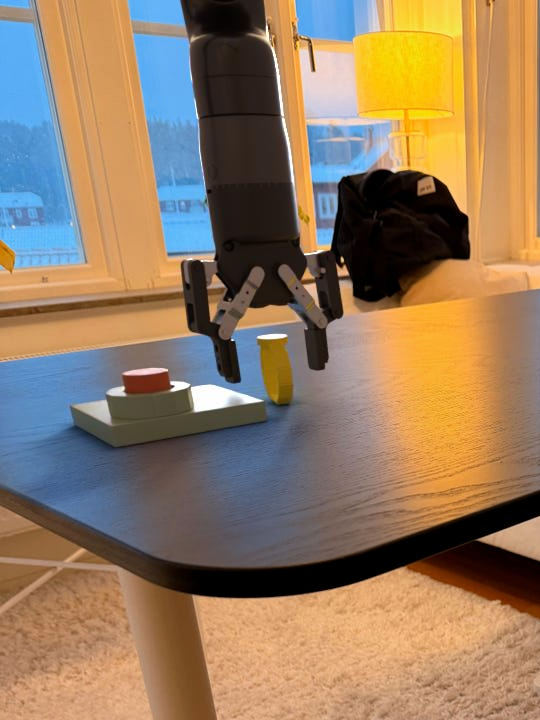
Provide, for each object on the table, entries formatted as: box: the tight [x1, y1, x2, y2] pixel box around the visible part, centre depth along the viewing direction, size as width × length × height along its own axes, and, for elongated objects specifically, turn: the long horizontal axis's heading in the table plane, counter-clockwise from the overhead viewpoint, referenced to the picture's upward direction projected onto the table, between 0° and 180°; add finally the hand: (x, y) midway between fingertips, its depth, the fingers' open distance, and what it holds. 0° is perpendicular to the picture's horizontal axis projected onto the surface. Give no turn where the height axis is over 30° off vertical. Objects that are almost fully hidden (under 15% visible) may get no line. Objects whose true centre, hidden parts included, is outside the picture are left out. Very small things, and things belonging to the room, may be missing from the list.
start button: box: [121, 367, 172, 394], centre depth 72 cm, size 4×4×2 cm
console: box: [69, 380, 268, 448], centre depth 76 cm, size 13×12×4 cm
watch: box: [256, 333, 294, 406], centre depth 82 cm, size 6×3×6 cm, turn 27°
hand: (276, 375), depth 82 cm, fingers open, 8 cm apart
